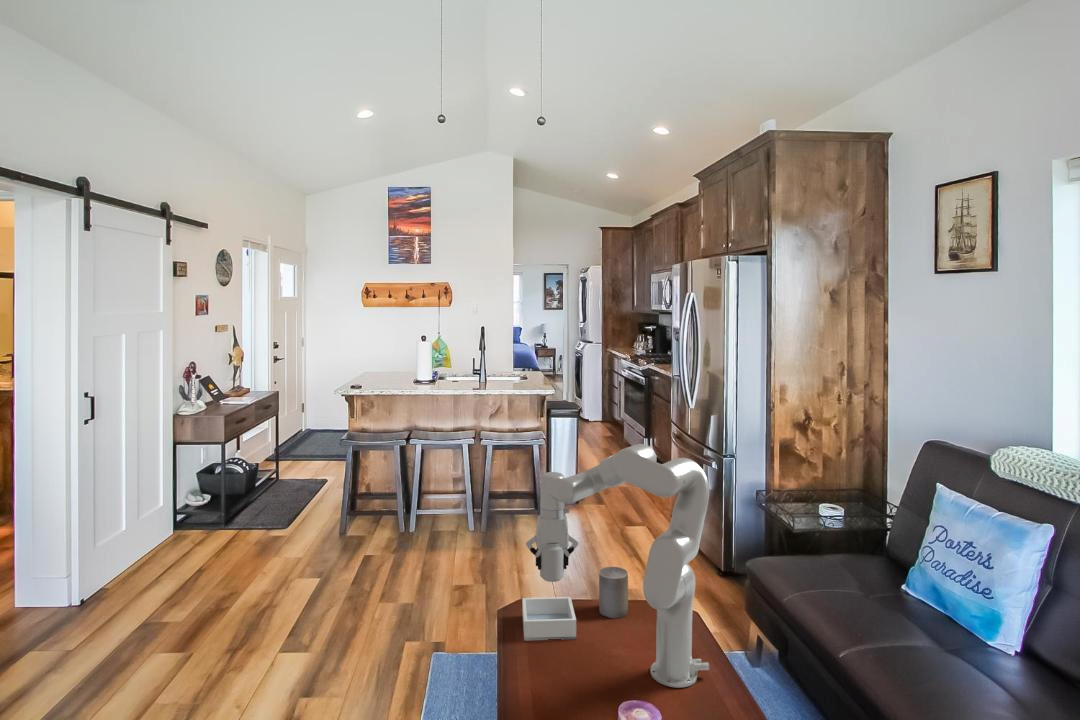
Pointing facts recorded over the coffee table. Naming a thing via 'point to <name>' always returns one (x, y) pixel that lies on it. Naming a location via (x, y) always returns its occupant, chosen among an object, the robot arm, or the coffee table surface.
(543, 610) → the walled box
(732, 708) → the coffee table surface
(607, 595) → the pillar candle
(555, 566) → the can
